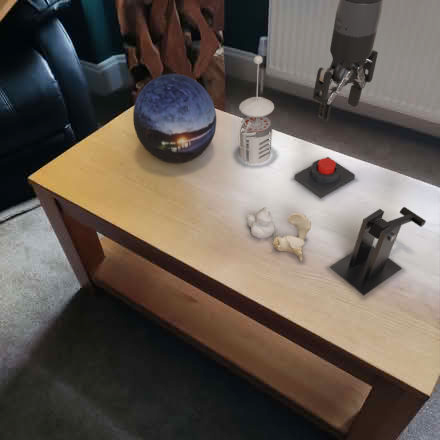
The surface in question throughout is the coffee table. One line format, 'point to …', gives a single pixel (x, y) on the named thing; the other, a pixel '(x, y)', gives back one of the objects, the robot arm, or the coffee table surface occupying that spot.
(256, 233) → the white lumpy piece
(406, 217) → the lever
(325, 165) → the button
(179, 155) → the decorative sphere
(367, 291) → the bracket
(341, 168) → the control block
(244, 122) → the french press
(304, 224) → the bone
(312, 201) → the coffee table surface
